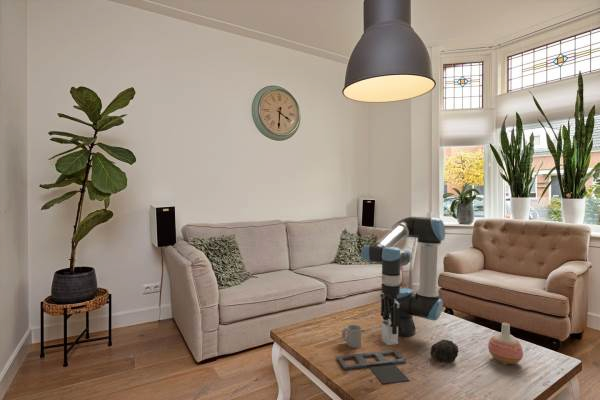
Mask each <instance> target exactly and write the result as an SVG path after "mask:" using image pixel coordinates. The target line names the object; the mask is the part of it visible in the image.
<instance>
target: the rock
mask: <svg viewBox="0 0 600 400" xmlns="http://www.w3.org/2000/svg"><path fill="white" fill-rule="evenodd" d="M458 354H459V347H458V345H457V344H456V343H454V342H453V341H451V340H449V339H441V340H440V341H437V342H435V343H434V344H432V345H431V347H430V352H429V355H430V357H431V358H432V359H434V360H435V361H437V362H444V363H445V362H446V363H454V361H455V360H457V359H456V358H457V357H458Z"/></svg>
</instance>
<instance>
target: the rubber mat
mask: <svg viewBox="0 0 600 400" xmlns="http://www.w3.org/2000/svg"><path fill="white" fill-rule="evenodd" d="M369 368H370V370H371V371H372V373H373V374H374V375H375V376H376V378H377V379H378V380H379V382H380V383H381V384H382V385H389V384H396V383H403V382H410V379H409V378H408V377H407V376H406V375H405V374H404V373H403V371H402V370H401V369H400V368H399V367H398V366H397V364H393V365H385V366H376V367H369Z"/></svg>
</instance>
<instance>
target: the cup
mask: <svg viewBox="0 0 600 400" xmlns="http://www.w3.org/2000/svg"><path fill="white" fill-rule="evenodd" d="M341 338H342V340H343V341H344V342H346V345H347V347H349V348H352V349H358V348H361V346H362V327H361V325H357V324H349V325H347V327H346V328H345V327H344V329H342V332H341Z"/></svg>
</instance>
